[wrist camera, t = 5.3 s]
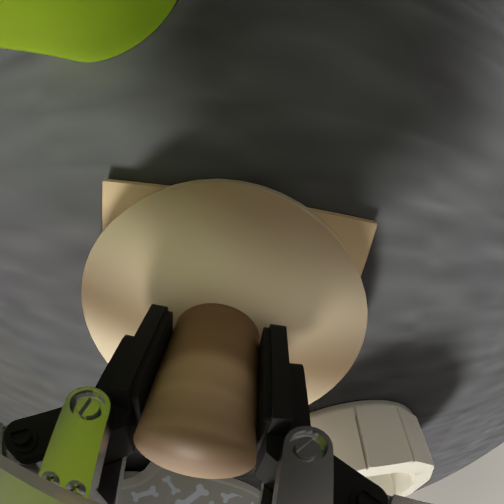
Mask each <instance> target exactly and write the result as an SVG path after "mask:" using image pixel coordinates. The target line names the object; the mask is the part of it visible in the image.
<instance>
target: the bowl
mask: <svg viewBox="0 0 504 504" xmlns="http://www.w3.org/2000/svg"><path fill="white" fill-rule="evenodd" d="M310 422H311V426H312V427H316V428H318V429H320V430H322V431H324V432H325V433H326V434H327V435H328V436H329V437H330V439H331V441H332V444H333V454H334V455H335V456H336V457H338V458H339V459H340V460H342V461H343V462H345V463H346V464H347V465H349V466H350V467H352V468H353V469H355V470H356V471H358V472H359V473H360V474H362V475H363V476H365V477H366V478H368V479H369V480H371V481H372V482H374V483H375V484H377V485H379V486H380V487H381V488H382V489H383V490H384V491H385V493H386V494H387V495H390V496H393V495H394V494H396V495H399V496H403V497H406V496H407V495H409V494H411V493H412V492H414V491H415V490H416V489H418V488H419V487H420V486H422V485H423V484H424V483H426V482H427V481H428V480H429V479H430V477H431V474H432V472H433V469H434V464H433V461H432V458H431V455H430V452H429V449H428V446H427V444H426V441H425V438H424V435H423V433H422V430H421V427H420V425H419V422H418V420H417V417H416V416H414V415H413V414H412V412H411V411H410V409H409V408H407V407H406V406H405V405H403V404H400V403H397V402H393V401H387V400H362V401H354V402H348V403H343V404H338V405H334V406H330V407H326V408H323V409H320V410H316V411H314V412H311V413H310Z"/></svg>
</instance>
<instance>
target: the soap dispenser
mask: <svg viewBox="0 0 504 504" xmlns="http://www.w3.org/2000/svg"><path fill="white" fill-rule="evenodd" d="M176 1H177V0H0V48H6V49H14V50H21V51H27V52H34V53H39V54H45V55H50V56H55V57H60V58H65V59H70V60H74V61H79V62H97V61H102V60H106V59H109V58H112V57H115V56H117V55H120V54H122V53H124V52H126V51H128V50H129V49H131V48H133V47H134V46H136V45H137V44H139V43H140V42H142V41H143V40H144V39H145V38H147V37H148V36H149V35H150V34H151V33H152V32H153V31H155V30H156V29H157V28H158V26H159V25H160V24H161V23H162V22H163V21H164V20H165V18H166V17H167V16H168V14H169V13H170V11H171V10H172V8H173V7H174V5H175V3H176Z"/></svg>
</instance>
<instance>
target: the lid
mask: <svg viewBox="0 0 504 504" xmlns="http://www.w3.org/2000/svg"><path fill="white" fill-rule="evenodd" d="M152 304H156V305H161V306H166V307H168V311H171V312H173V332H172V335H171V337H170V340H169V342H168V345H167V347H166V350H165V352H164V355H163V358H162V360H161V363H160V365H159V368H158V371H157V373H156V376H155V379H154V381H153V384H152V387H151V389H150V392H149V395H148V398H147V400H146V403H145V406H144V409H143V411H142V414H141V417H140V419H139V422H138V425H137V428H136V431H135V434H134V438H133V440H134V444H135V446H136V448H137V449H138V450H139V451H140V453H141V454H142V455H144V456H145V457H146V458H147V459H149V460H150V461H152V462H153V463H155V464H157V465H159V466H161V467H163V468H165V469H167V470H170V471H173V472H176V473H179V474H182V475H186V476H191V477H196V478H205V479H225V478H232V477H237V476H240V475H243V474H245V473H247V472H249V471H250V470H252V469H253V468H254V466H255V464H256V453H257V436H256V433H257V404H258V372H259V345H260V341H261V336H262V332H263V328H264V327H266V328H269V326H270V324H274V325H282V326H286V328H287V339H288V350H289V362H290V363H294V364H302V365H303V367H304V373H305V380H306V388H307V396H308V405H309V404H311V403H312V402H314V401H316V400H317V399H319V398H321V397H322V396H323V395H325V394H326V393H327V392H328V391H330V390H331V389H332V388H333V387H334V386H335V385H336V384H337V383H338V382H339V381H340V380H341V379H342V378H343V377H344V376H345V374H346V373H347V372H348V371H349V369H350V368H351V366H352V365H353V363H354V361H355V360H356V358H357V356H358V354H359V351H360V349H361V346H362V344H363V341H364V337H365V332H366V328H367V313H368V310H367V301H366V294H365V290H364V287H363V283H362V280H361V277H360V275H359V273H358V271H357V269H356V267H355V264H354V262H353V260H352V259H351V257H350V255H349V254H348V252H347V250H346V249H345V247H344V246H343V244H342V243H341V241H340V240H339V239H338V237H337V236H336V234H335V233H334V232H333V230H332V229H331V228H330V227H329V226H328V225H327V224H326V223H325V222H324V221H323V220H322V219H321V218H320V217H319V216H318V215H316V214H315V213H314V212H312V211H311V210H310V209H308V208H307V207H306V206H304V205H303V204H301V203H300V202H298V201H296V200H294V199H292V198H291V197H289V196H287V195H285V194H283V193H281V192H278V191H276V190H273V189H270V188H268V187H265V186H262V185H258V184H254V183H249V182H245V181H241V180H230V179H201V180H193V181H188V182H183V183H178V184H174V185H172V186H169V187H166V188H164V189H161V190H158V191H156V192H154V193H152V194H150V195H149V196H147V197H145V198H143V199H142V200H140V201H138V202H137V203H135V204H134V205H133V206H131V207H130V208H128V209H127V210H125V211H124V212H123V213H122V214H121V215H119V216H118V217H117V218H116V219H114V220H113V221H112V222H111V223H110V224H109V225H108V227H107V228H106V229H105V230H104V231H103V232H102V233H101V235H100V236H99V238H98V239H97V241H96V243H95V244H94V246H93V248H92V249H91V252H90V254H89V257H88V259H87V262H86V264H85V269H84V274H83V278H82V305H83V311H84V316H85V320H86V324H87V326H88V329H89V331H90V334H91V337H92V339H93V340H94V342H95V344H96V346H97V348H98V350H99V351H100V353H101V354H102V356H103V357H104V358H105V360H106V361H107V363H109V361H110V359H111V358H112V356H113V354H114V352H115V350H116V349H117V347H118V345H119V343H120V342H121V340H122V338H123V337H124V336H125V335H126V334H127V335H131V336H134V335H135V334H136V332H137V330H138V328H139V326H140V324H141V323H142V321H143V319H144V317H145V315H146V313H147V312H148V310H149V308H150V306H151V305H152Z"/></svg>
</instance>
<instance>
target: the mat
mask: <svg viewBox="0 0 504 504" xmlns="http://www.w3.org/2000/svg"><path fill="white" fill-rule="evenodd" d="M166 187H169V186H168V185H160V184H152V183H143V182H134V181H124V180H114V179H106V180H104V181H103V192H102V221H103V231H104V230H105V229H106V228H107V227H108V225H109V224H110V223H111V222H112V221H113V220H114V219H116V218H117V217H118V216H119V215H121V214H122V213H123V212H124V211H125V210H127V209H128V208H130V207H131V206H133V205H134V204H135V203H137V202H138V201H140V200H142V199H143V198H145V197H147V196H149V195H150V194H152V193H154V192H156V191H158V190H161V189H164V188H166ZM307 208H308V209H310V210H311V211H312V212H314V213H315V214H316V215H318V216H319V217H320V218H321V219H322V220H323V221H324V222H325V223H326V224H327V225H328V226H329V227H330V228H331V229H332V230H333V232H334V233H335V234H336V236H337V237H338V239H339V240H340V241H341V243H342V244H343V246H344V247H345V249H346V250H347V252H348V254H349V255H350V257H351V259H352V260H353V262H354V264H355V267H356V269H357V271H358V273H359V275H360V277H361V275H362V272H363V269H364V266H365V263H366V260H367V257H368V253H369V250H370V247H371V244H372V241H373V237H374V234H375V231H376V227H377V223H376V222H375V221H373V220H368V219H363V218H359V217H354V216H349V215H344V214H339V213H334V212H329V211H324V210H319V209H314V208H309V207H307Z"/></svg>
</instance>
